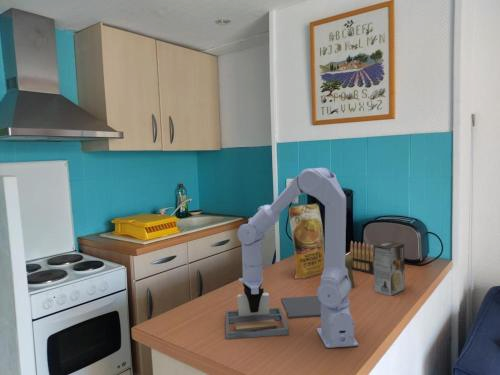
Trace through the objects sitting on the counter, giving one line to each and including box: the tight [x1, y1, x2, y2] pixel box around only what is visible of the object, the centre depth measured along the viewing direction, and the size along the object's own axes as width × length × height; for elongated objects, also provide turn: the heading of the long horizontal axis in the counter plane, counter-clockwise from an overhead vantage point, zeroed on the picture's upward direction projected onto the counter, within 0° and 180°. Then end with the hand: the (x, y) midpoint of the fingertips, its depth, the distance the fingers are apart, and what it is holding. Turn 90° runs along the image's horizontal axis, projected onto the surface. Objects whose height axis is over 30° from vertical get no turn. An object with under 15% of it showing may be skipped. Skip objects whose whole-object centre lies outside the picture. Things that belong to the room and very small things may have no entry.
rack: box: [225, 307, 290, 340], centre depth 99 cm, size 14×17×2 cm
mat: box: [280, 295, 321, 319], centre depth 110 cm, size 14×14×1 cm
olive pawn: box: [345, 254, 355, 290], centre depth 127 cm, size 6×6×11 cm
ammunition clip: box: [349, 240, 374, 275], centre depth 143 cm, size 11×2×12 cm, turn 43°
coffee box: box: [373, 241, 405, 297], centre depth 121 cm, size 9×6×16 cm
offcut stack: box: [233, 319, 280, 332], centre depth 96 cm, size 4×12×2 cm, turn 98°
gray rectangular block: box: [237, 292, 270, 316], centre depth 104 cm, size 2×9×7 cm, turn 94°
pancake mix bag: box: [288, 203, 325, 280], centre depth 140 cm, size 7×19×28 cm, turn 125°
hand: (253, 309), depth 104 cm, fingers open, 3 cm apart
